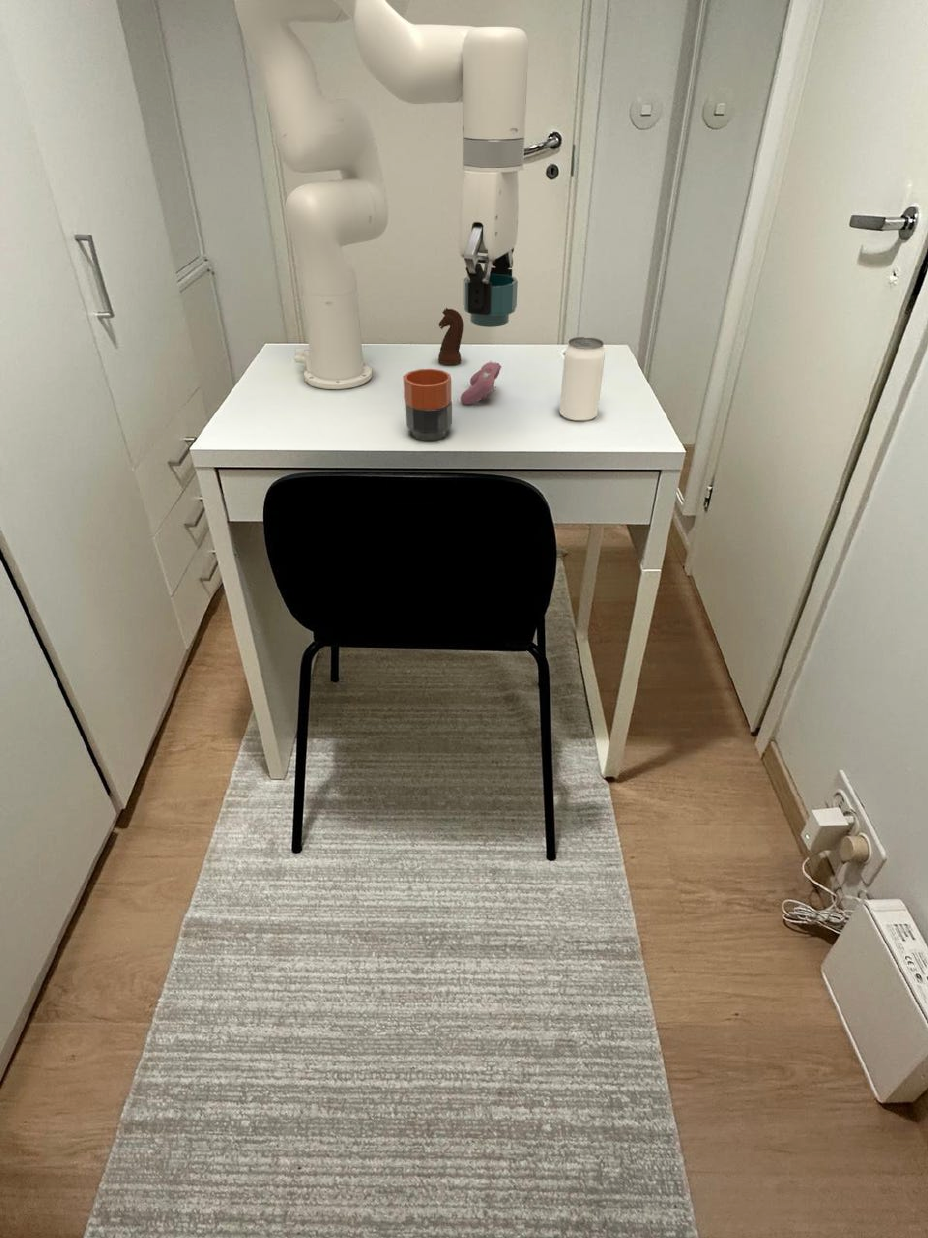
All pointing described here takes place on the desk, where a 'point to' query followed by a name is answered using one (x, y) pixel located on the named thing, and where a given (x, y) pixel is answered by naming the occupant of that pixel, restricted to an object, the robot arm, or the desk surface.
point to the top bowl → (496, 301)
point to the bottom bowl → (429, 422)
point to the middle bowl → (427, 389)
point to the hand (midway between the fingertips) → (490, 304)
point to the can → (582, 378)
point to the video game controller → (481, 383)
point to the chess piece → (451, 338)
